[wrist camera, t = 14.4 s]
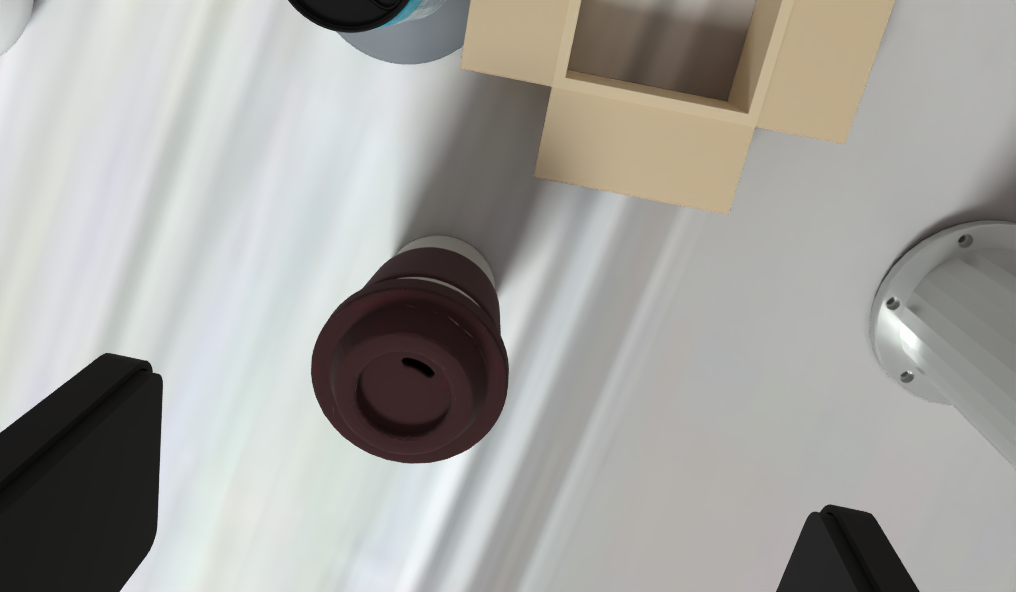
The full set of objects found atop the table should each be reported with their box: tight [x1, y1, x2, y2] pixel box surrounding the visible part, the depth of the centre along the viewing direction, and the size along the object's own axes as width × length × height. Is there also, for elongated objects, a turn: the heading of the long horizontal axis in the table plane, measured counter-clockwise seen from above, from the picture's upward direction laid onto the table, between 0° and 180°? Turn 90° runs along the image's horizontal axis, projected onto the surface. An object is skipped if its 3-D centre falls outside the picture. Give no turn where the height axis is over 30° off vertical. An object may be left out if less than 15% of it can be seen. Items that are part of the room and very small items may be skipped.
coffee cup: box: [311, 235, 509, 463], centre depth 44 cm, size 10×10×15 cm
